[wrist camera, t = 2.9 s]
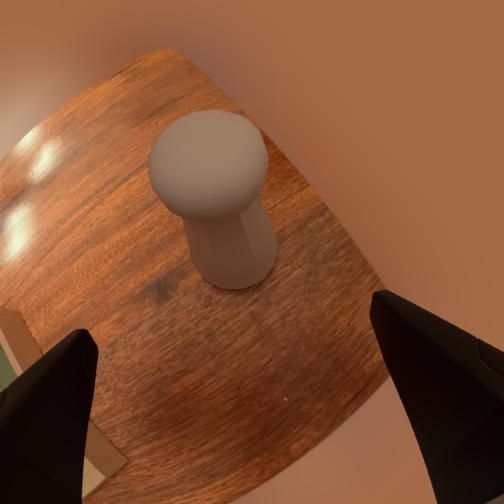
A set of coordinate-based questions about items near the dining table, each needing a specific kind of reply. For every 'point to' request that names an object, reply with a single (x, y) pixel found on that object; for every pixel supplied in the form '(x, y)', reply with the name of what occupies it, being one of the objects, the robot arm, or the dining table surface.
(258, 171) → the salt shaker
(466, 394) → the robot arm
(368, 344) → the dining table surface
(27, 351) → the beige wooden divided tray
